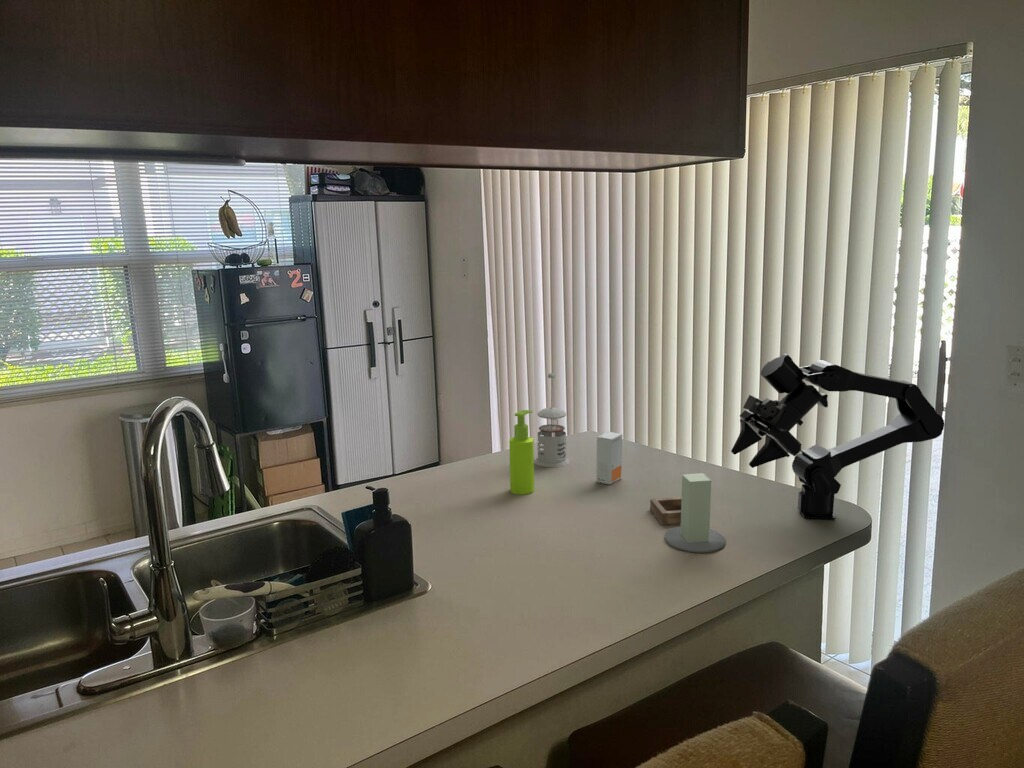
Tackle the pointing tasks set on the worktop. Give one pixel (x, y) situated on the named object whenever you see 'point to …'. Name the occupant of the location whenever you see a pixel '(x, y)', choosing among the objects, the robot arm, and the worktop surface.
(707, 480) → the sage peg
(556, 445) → the french press
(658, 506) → the walnut holder
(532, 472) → the soap dispenser
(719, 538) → the slate coaster
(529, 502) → the worktop surface
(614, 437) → the skincare box
